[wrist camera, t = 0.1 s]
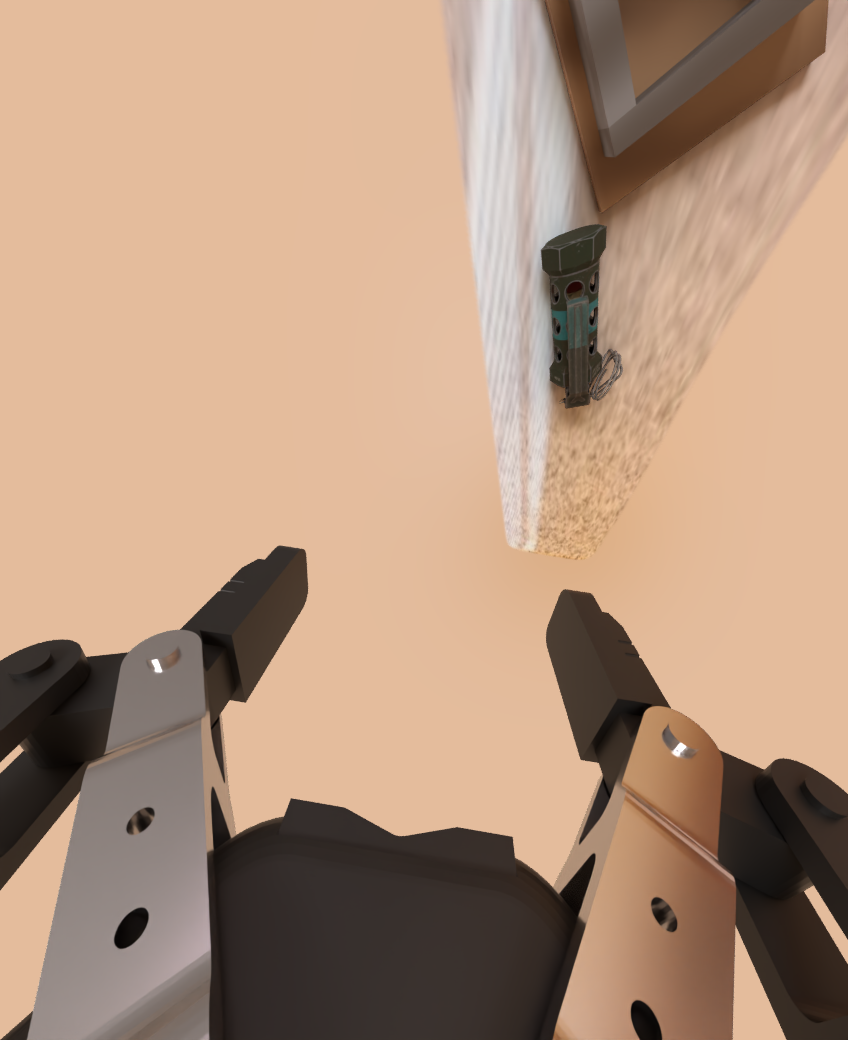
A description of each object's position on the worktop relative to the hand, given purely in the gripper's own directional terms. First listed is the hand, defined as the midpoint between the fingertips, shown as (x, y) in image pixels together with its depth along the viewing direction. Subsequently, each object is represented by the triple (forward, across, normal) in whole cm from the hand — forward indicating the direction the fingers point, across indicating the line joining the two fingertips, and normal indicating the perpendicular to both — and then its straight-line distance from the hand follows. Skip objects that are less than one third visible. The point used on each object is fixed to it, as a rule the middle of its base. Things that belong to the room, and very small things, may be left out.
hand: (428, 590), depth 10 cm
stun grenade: (+30, -11, -11) cm, 34 cm away
